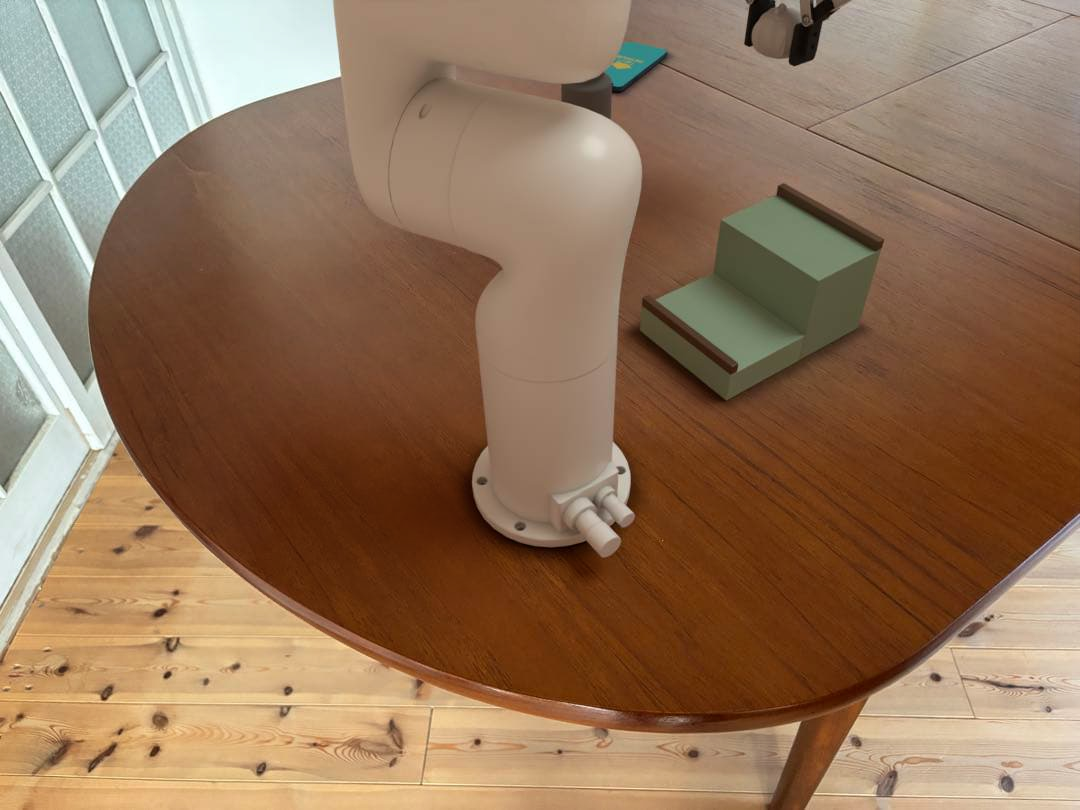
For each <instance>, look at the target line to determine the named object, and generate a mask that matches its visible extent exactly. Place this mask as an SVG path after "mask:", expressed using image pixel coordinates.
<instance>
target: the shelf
mask: <svg viewBox="0 0 1080 810" xmlns="http://www.w3.org/2000/svg"><path fill="white" fill-rule="evenodd" d="M884 242H885V238H883V237H881V236H879V235H878V234H877V233H874V232H872V231H871V230H869V229H867V228H866V227H864V226H861V225H860V224H858V223H856V222H855V221H853V220H851V219H849V218H848V217H846V216H844V215H843V214H840V213H838V212H837V211H835V210H833V209H831V208H829V207H828V206H826V205H824V204H823V203H820V202H819V201H817V200H815V199H814V198H812V197H810V196H808V195H806V194H805V193H802V192H801V191H799V190H797V189H796V188H794V187H792V186H791V185H788V184H787V183H785V182H782V183H780V184H779V185H777V189H776V194H775V195H773V196H771V197H768V198H766V199H764V200H762V201H758V202H757V203H754V204H753V205H750V206H748V207H746V208H743V209H741V210H739V211H737V212H734V213H732V214H729V215H728V216H725V217H723V218H721V219H720V221H719V228H718V238H717V243H716V251H715V258H714V259H715V260H714V265H713V272H711V273H709V274H707V275H705V276H703V277H700V278H697V279H696V280H694V281H692V282H689V283H687V284H686V285H684V286H681V287H679V288H677V289H675V290H673V291H670V292H668V293H667V294H664V295H662V296H659V297H657V298H656V299H655V298H654V297H653V296H651V295H650V294H647V295H644V296H643V297H642V299H641V309H640V323H639V324H640V325H639V331H640V332H641V333H642V334H643V335H645V336H646V337H647V338H648V339H650V340H651V341H652V342H653V343H655V345H657V346H658V347H660V348H661V349H663V351H665V352H666V353H667V354H668V355H670V356H671V357H672V358H673V359H674V360H675V361H676V362H678V363H679V364H681V366H683V367H684V368H685V369H687V370H688V371H689V372H690V373H692V374H693V375H694V376H695V377H697V378H698V379H699V380H700V381H701V382H703V383H704V384H705V385H706V386H707V387H709V388H710V389H711V390H713V391H714V392H715V393H716V394H718V395H719V396H720V397H721V398H722V399H723V400H725V401H728V400H730V399H732V398H734V397H736V396H737V395H740V394H741V393H743V392H745V391H746V390H748V389H750V388H752V387H754V386H755V385H757V384H759V383H761V382H763V381H765V380H766V379H769V378H770V377H772V376H774V375H776V374H777V373H779V372H781V371H783V370H785V369H787V368H788V367H790V366H792V365H794V364H795V363H797V362H799V361H800V360H802V359H804V358H806V357H809V356H810V355H811V354H813V353H815V352H817V351H819V350H820V349H823V348H824V347H826V346H828V345H830V344H831V343H833V342H835V341H837V340H839V339H840V338H842V337H844V336H845V335H847V334H849V333H852V332H853V331H855V330H857V329H858V328H859V326H860V323H861V319H862V316H863V312H864V308H865V307H866V302H867V300H868V295H869V293H870V289H871V286H872V282H873V279H874V275H875V272H876V269H877V266H878V262H879V259H880V255H881V252H882V248H883V245H884Z"/></svg>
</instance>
